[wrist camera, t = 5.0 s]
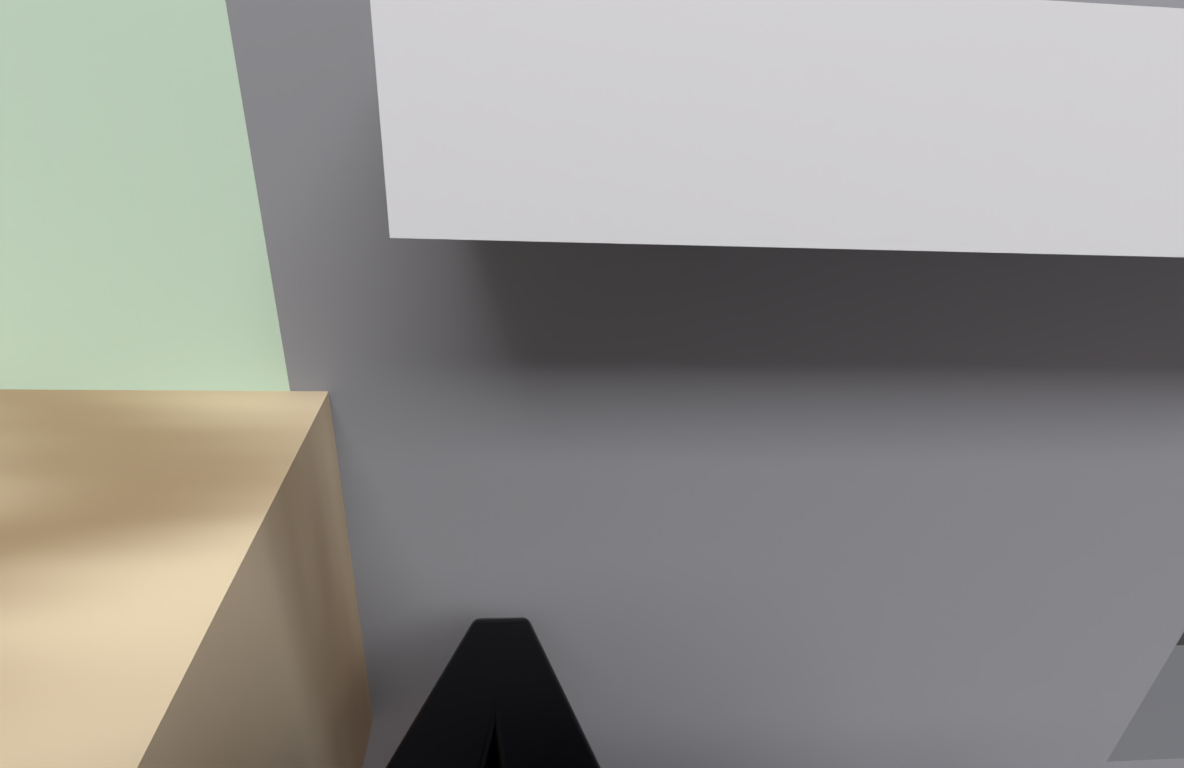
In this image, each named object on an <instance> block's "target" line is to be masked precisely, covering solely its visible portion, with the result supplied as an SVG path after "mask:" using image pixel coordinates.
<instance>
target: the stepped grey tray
mask: <svg viewBox="0 0 1184 768" xmlns="http://www.w3.org/2000/svg"><path fill="white" fill-rule="evenodd" d="M0 389H21V390H189V391H329V399H330V406H331V413H332V421H333V428H334V435H335V443H336V450H337V457H338V465H339V472H340V479H341V487H342V494H343V501H344V509H345V516H346V523H347V531H348V538H349V545H350V553H351V560H352V567H353V575H354V582H355V589H356V597H357V604H358V611H359V619H360V626H361V633H362V641H363V648H364V655H365V663H366V670H367V677H368V685H369V692H370V699H371V707H372V714H373V721H372V726H371V731H370V735H369V740H368V745H367V749H366V754H365V759H364V763H363V768H386V766H387V764H388V763H389V761H390V759H391V758H392V756H393V754H394V753H395V751H396V749H397V748H398V746H399V744H400V742H401V741H402V739H403V737H404V736H405V734H406V732H407V731H408V729H409V727H410V726H411V724H412V722H413V721H414V719H415V717H416V716H417V714H418V712H419V711H420V709H421V707H422V706H423V704H424V702H425V701H426V699H427V697H428V695H429V694H430V692H431V690H432V689H433V687H434V685H435V684H436V682H437V680H438V679H439V677H440V675H441V674H442V672H443V670H444V669H445V667H446V665H447V664H448V662H449V660H450V659H451V657H452V655H453V654H454V652H455V650H456V648H457V647H458V645H459V643H460V642H461V640H462V638H463V637H464V635H465V633H466V632H467V630H468V628H469V627H470V625H471V624H472V622H473V621H474V620H476V619H478V618H513V617H525V618H527V619H528V620H529V621H530V622H531V624H532V626H533V628H534V630H535V632H536V635H537V637H538V639H539V641H540V643H541V645H542V647H543V649H544V651H545V653H546V655H547V657H548V659H549V661H550V663H551V666H552V668H553V670H554V672H555V674H556V676H557V678H558V680H559V682H560V684H561V686H562V688H563V690H564V692H565V694H566V697H567V699H568V701H569V703H570V705H571V707H572V709H573V711H574V713H575V715H576V717H577V719H578V721H579V723H580V725H581V728H582V730H583V732H584V734H585V736H586V738H587V740H588V742H589V744H590V746H591V748H592V750H593V752H594V754H595V756H596V759H597V761H598V763H599V765H600V767H601V768H1184V0H0Z"/></svg>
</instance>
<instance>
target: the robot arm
mask: <svg viewBox="0 0 1184 768" xmlns="http://www.w3.org/2000/svg"><path fill="white" fill-rule="evenodd" d="M386 768H601V767H600V765H599V763H598V761H597V759H596V756H595V754H594V752H593V750H592V748H591V746H590V744H589V742H588V740H587V738H586V736H585V734H584V732H583V730H582V728H581V725H580V723H579V721H578V719H577V717H576V715H575V713H574V711H573V709H572V707H571V705H570V703H569V701H568V699H567V697H566V694H565V692H564V690H563V688H562V686H561V684H560V682H559V680H558V678H557V676H556V674H555V672H554V670H553V668H552V666H551V663H550V661H549V659H548V657H547V655H546V653H545V651H544V649H543V647H542V645H541V643H540V641H539V639H538V637H537V635H536V632H535V630H534V628H533V626H532V624H531V622H530V621H529V620H528V619H527V618H525V617H513V618H478V619H476V620H474V621H473V622H472V624H471V625H470V627H469V628H468V630H467V632H466V633H465V635H464V637H463V638H462V640H461V642H460V643H459V645H458V647H457V648H456V650H455V652H454V654H453V655H452V657H451V659H450V660H449V662H448V664H447V665H446V667H445V669H444V670H443V672H442V674H441V675H440V677H439V679H438V680H437V682H436V684H435V685H434V687H433V689H432V690H431V692H430V694H429V695H428V697H427V699H426V701H425V702H424V704H423V706H422V707H421V709H420V711H419V712H418V714H417V716H416V717H415V719H414V721H413V722H412V724H411V726H410V727H409V729H408V731H407V732H406V734H405V736H404V737H403V739H402V741H401V742H400V744H399V746H398V748H397V749H396V751H395V753H394V754H393V756H392V758H391V759H390V761H389V763H388V764H387V766H386Z"/></svg>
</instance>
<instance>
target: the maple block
mask: <svg viewBox="0 0 1184 768" xmlns="http://www.w3.org/2000/svg"><path fill="white" fill-rule="evenodd" d="M372 721H373V714H372V707H371V699H370V692H369V685H368V677H367V670H366V663H365V655H364V648H363V641H362V633H361V626H360V619H359V611H358V604H357V597H356V589H355V582H354V575H353V567H352V560H351V553H350V545H349V538H348V531H347V523H346V516H345V509H344V501H343V494H342V487H341V479H340V472H339V465H338V457H337V450H336V443H335V435H334V428H333V421H332V413H331V406H330V399H329V391H189V390H21V389H0V768H363V763H364V759H365V754H366V749H367V745H368V740H369V735H370V731H371V726H372Z"/></svg>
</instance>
